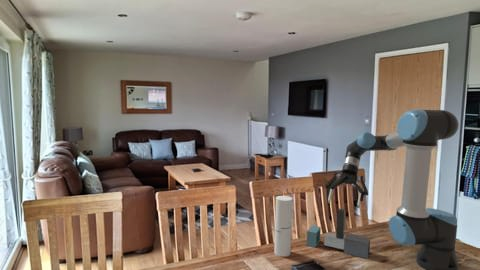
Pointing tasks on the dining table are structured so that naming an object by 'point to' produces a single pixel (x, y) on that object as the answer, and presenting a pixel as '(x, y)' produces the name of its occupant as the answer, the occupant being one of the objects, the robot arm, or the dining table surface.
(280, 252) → the cylindrical container
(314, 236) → the socket block
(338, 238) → the gray bar with post
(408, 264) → the dining table surface
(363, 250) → the matte charcoal box
